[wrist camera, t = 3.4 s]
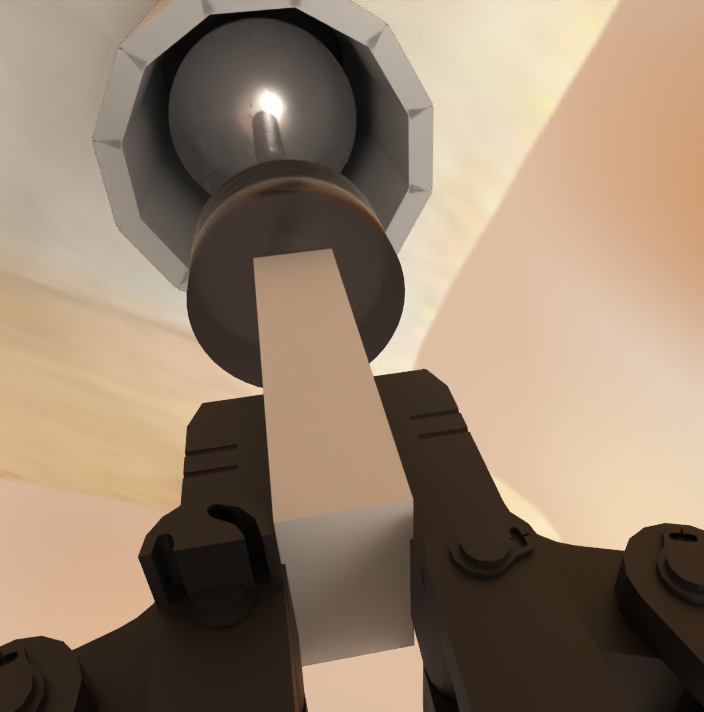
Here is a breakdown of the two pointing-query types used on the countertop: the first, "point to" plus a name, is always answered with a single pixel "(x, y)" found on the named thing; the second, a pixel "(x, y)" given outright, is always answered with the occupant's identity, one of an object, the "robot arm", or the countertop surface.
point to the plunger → (273, 183)
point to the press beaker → (173, 182)
